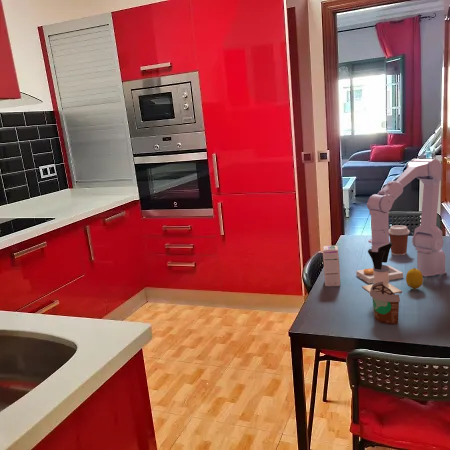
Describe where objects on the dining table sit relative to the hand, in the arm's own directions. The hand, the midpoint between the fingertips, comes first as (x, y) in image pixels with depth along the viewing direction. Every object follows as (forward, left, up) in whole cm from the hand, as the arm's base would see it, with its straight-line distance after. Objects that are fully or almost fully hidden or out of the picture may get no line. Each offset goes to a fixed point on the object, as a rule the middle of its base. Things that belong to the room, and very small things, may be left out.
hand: (380, 265), depth 159 cm
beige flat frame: (-6, -12, -9) cm, 16 cm away
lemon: (-10, +5, -9) cm, 15 cm away
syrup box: (+13, -13, -9) cm, 21 cm away
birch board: (0, 0, -9) cm, 9 cm away
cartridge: (0, 0, -9) cm, 9 cm away
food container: (+12, +21, -9) cm, 26 cm away
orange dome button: (-2, -12, -9) cm, 15 cm away
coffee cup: (-28, -34, -9) cm, 45 cm away
